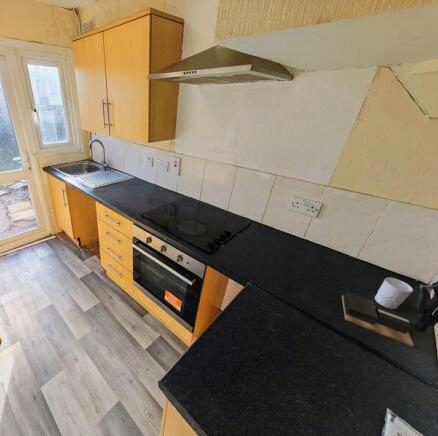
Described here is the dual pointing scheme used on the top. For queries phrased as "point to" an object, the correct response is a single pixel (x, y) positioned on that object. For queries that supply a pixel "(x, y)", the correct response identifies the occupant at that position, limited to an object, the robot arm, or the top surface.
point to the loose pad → (392, 320)
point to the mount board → (381, 329)
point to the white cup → (393, 293)
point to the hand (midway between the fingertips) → (419, 328)
